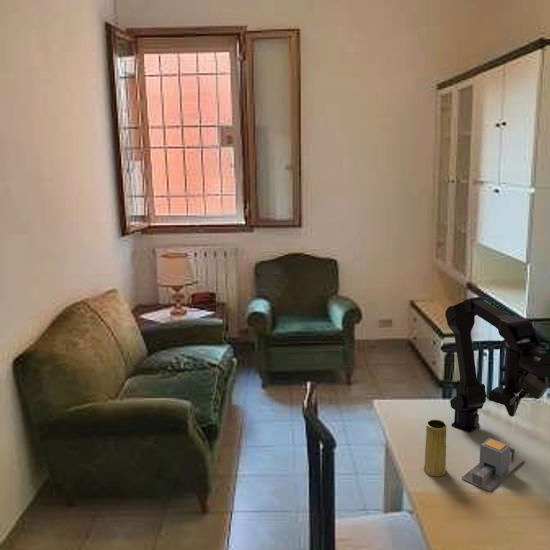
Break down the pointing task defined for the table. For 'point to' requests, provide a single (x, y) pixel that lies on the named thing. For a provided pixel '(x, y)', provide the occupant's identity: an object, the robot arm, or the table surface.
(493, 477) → the rail
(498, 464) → the grey slider block
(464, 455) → the table surface
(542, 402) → the table surface
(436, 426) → the vase
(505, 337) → the robot arm
